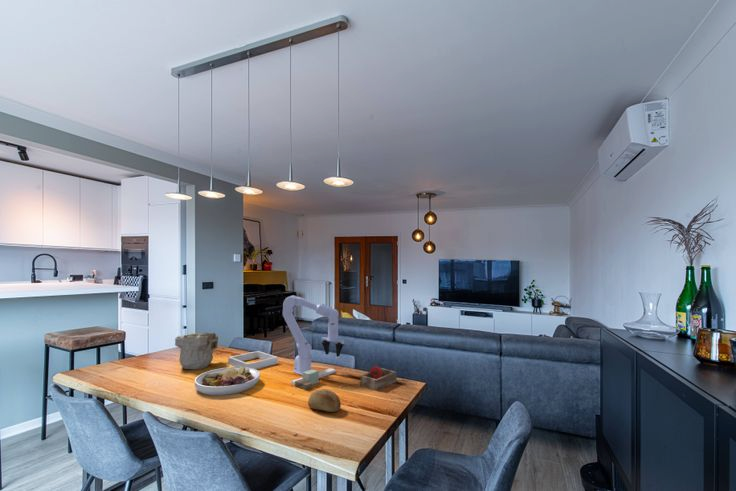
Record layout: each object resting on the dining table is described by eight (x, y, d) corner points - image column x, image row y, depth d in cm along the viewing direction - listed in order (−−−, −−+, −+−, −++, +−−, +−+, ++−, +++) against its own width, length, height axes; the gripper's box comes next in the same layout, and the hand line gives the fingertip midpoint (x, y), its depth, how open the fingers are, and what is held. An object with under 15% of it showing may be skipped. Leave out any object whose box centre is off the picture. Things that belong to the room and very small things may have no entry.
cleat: (294, 386, 165) (294, 381, 165) (301, 384, 168) (301, 379, 168) (305, 390, 159) (306, 385, 159) (312, 388, 162) (312, 383, 163)
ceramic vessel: (184, 345, 210) (209, 315, 209) (211, 371, 206) (236, 340, 206) (157, 353, 187) (185, 320, 187) (186, 383, 184) (215, 349, 183)
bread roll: (334, 417, 132) (334, 397, 132) (302, 411, 137) (302, 391, 138) (344, 408, 141) (345, 389, 141) (314, 402, 146) (314, 383, 147)
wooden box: (360, 385, 167) (360, 375, 167) (380, 377, 180) (380, 367, 181) (376, 390, 160) (376, 380, 161) (396, 381, 174) (396, 371, 174)
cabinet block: (302, 384, 168) (302, 372, 168) (312, 380, 173) (312, 369, 174) (308, 386, 165) (308, 374, 165) (318, 382, 171) (318, 370, 171)
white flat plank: (291, 383, 168) (291, 380, 168) (330, 370, 190) (330, 368, 190) (296, 385, 165) (296, 382, 165) (335, 372, 187) (335, 369, 187)
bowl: (184, 385, 164) (185, 369, 164) (242, 372, 185) (243, 358, 186) (208, 404, 143) (209, 385, 144) (270, 386, 165) (271, 370, 165)
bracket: (366, 382, 171) (367, 367, 171) (369, 379, 175) (371, 364, 175) (387, 388, 166) (388, 373, 166) (390, 385, 170) (392, 370, 170)
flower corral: (228, 363, 199) (228, 357, 200) (257, 357, 215) (258, 350, 216) (247, 371, 186) (247, 364, 186) (277, 363, 202) (277, 356, 202)
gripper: (318, 330, 187) (317, 354, 187) (339, 333, 180) (339, 358, 180) (325, 328, 194) (325, 352, 193) (346, 331, 187) (346, 355, 186)
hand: (332, 355), depth 187 cm, fingers open, 7 cm apart
